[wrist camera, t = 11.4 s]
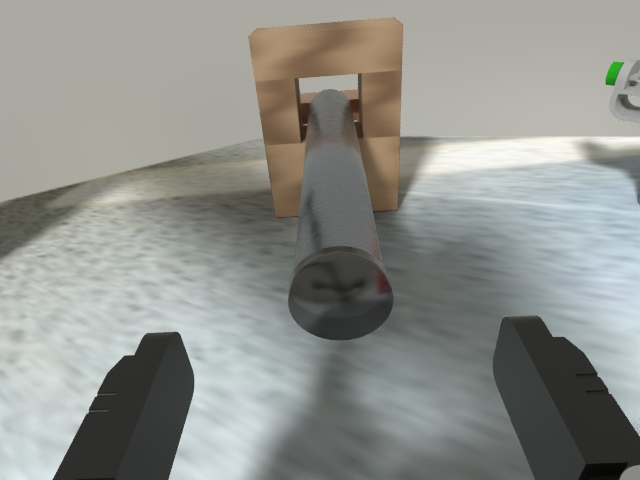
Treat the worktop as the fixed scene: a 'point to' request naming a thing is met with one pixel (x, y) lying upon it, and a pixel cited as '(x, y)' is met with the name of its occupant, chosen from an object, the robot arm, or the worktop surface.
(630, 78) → the mechanical component
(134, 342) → the worktop surface
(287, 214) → the bearing block
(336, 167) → the shaft
